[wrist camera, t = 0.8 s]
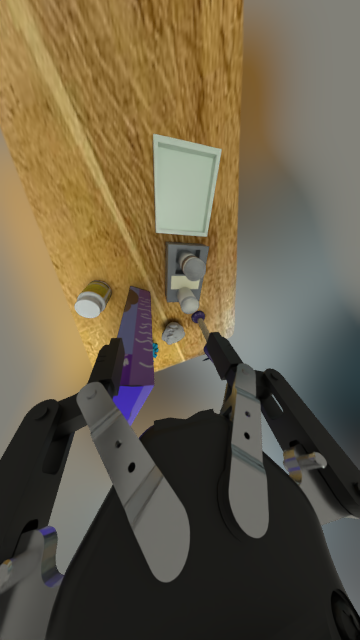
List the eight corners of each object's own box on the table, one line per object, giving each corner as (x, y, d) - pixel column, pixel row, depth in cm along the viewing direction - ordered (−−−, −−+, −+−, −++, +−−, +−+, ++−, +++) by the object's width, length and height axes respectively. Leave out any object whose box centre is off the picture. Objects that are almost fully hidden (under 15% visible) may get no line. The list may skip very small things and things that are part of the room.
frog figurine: (161, 316, 38) (163, 333, 32) (183, 317, 40) (189, 333, 34) (159, 332, 41) (161, 349, 36) (180, 332, 43) (185, 348, 38)
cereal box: (130, 285, 31) (104, 386, 12) (150, 291, 32) (154, 387, 14) (118, 337, 39) (92, 443, 21) (134, 339, 41) (123, 438, 22)
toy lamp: (189, 323, 41) (208, 369, 28) (189, 310, 38) (211, 356, 26) (203, 320, 42) (229, 365, 29) (205, 308, 39) (233, 352, 26)
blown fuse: (176, 249, 27) (186, 258, 20) (193, 250, 28) (207, 259, 21) (175, 267, 29) (183, 281, 23) (191, 268, 30) (203, 281, 23)
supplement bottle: (84, 281, 28) (65, 299, 22) (106, 278, 29) (94, 295, 22) (95, 300, 31) (81, 322, 25) (115, 297, 32) (106, 317, 25)
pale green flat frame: (152, 140, 19) (153, 133, 17) (216, 154, 21) (221, 149, 19) (155, 232, 25) (156, 232, 24) (203, 235, 27) (206, 236, 26)
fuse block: (165, 241, 27) (172, 249, 19) (202, 243, 28) (221, 252, 21) (165, 294, 34) (170, 315, 26) (194, 294, 35) (206, 313, 28)
